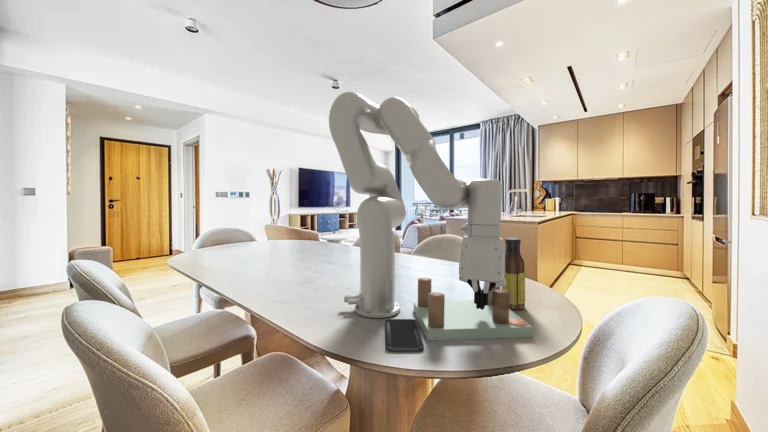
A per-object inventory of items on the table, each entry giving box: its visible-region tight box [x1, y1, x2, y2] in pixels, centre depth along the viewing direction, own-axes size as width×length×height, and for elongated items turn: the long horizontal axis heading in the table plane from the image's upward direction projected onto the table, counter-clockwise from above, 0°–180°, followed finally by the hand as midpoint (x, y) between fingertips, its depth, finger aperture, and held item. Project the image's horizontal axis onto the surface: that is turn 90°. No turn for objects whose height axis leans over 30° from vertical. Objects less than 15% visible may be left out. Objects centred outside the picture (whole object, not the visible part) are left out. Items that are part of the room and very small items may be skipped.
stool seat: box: [413, 277, 534, 341], centre depth 77 cm, size 24×18×9 cm
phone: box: [385, 318, 425, 353], centre depth 70 cm, size 8×1×15 cm
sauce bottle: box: [501, 237, 526, 311], centre depth 88 cm, size 7×6×20 cm
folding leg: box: [492, 289, 509, 323], centre depth 75 cm, size 11×4×7 cm, turn 158°
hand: (480, 307), depth 74 cm, fingers closed
